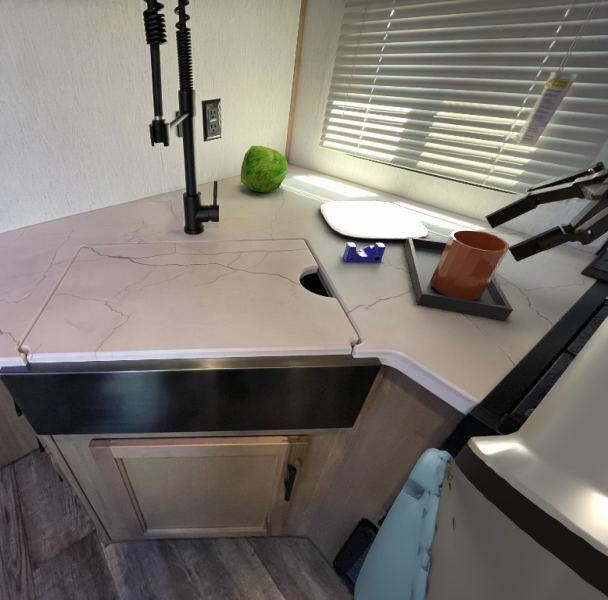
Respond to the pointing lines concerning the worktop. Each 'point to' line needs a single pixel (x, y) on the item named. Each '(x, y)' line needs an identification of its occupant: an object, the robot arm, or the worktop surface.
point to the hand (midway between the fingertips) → (499, 237)
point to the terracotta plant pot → (468, 263)
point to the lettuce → (263, 169)
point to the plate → (372, 220)
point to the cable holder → (364, 253)
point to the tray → (421, 267)
